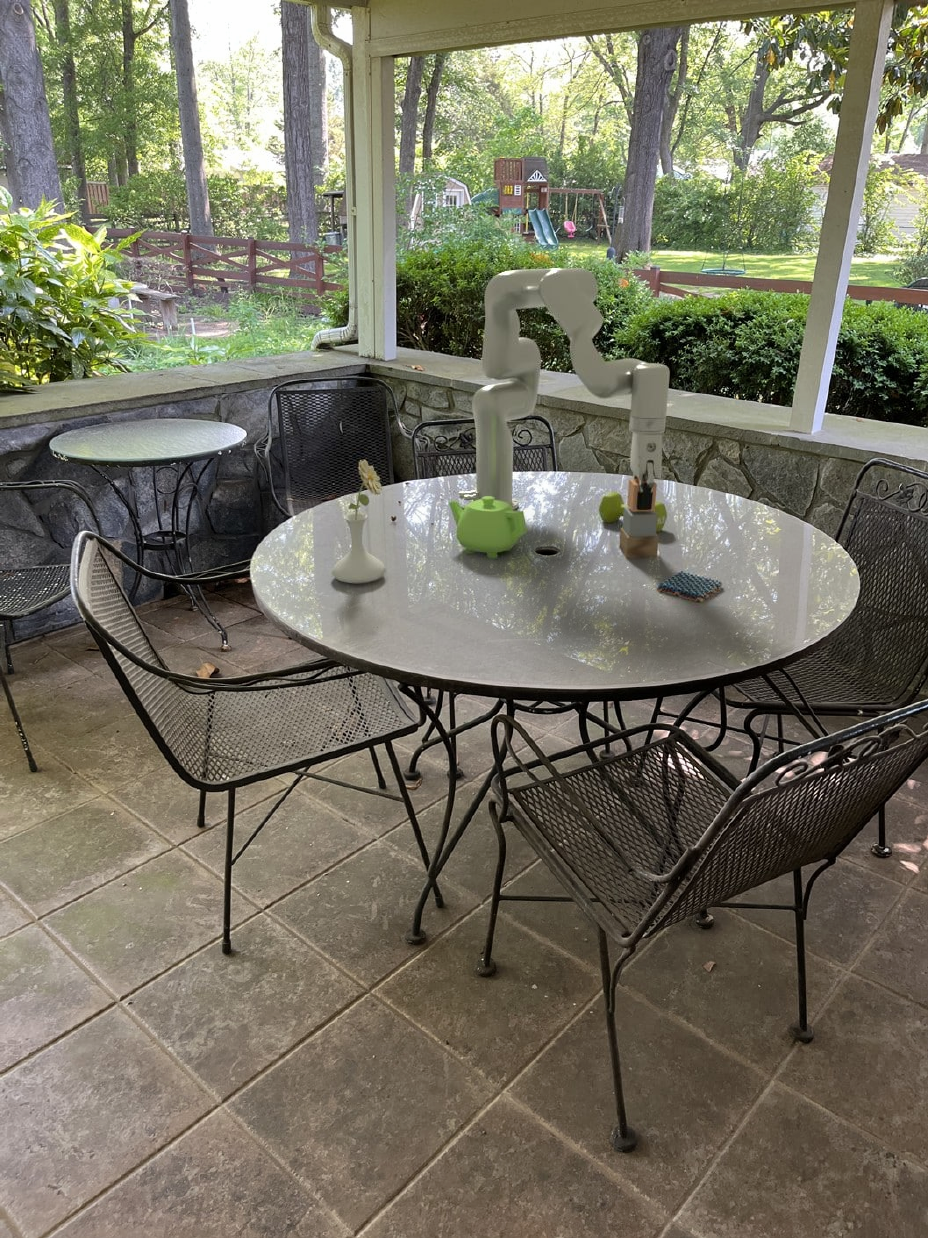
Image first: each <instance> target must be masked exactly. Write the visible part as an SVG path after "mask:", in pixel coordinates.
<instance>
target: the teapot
mask: <svg viewBox="0 0 928 1238" xmlns="http://www.w3.org/2000/svg"><path fill="white" fill-rule="evenodd" d="M494 499H495V498H494V497H492V496H485V497H482V499H479V500H476V501H473V502H471V501H470V502H469V503H467V504H466V506H465V507H464V508H463V507H462V506H461V505H460V504H459V502H458V500H457V501H456V500H451V501H449V502H448V505H449V507H450V510H451V513H452V516H453V518H454V521H455V524H456V526H457V527H456V531H455V532H456V539H457V541H458V543H459V544H460V545H461V546H462V547H463V548H465V550H464V551H463V552H464V553H465V554H473V553H476V552H480V553H486V558H488V559H498V553H503V552H506V551H511V550H512V548H513V547H514V546H515V545H516V544H517V542H518V541H519V539H520V537H522V536H524V535H525V534H527V533H528V528H527V524H526V519H525V514H524V511H523V510H513V509H512V507H511V505H510V504H508V503H506V502H503V501H499V500H494Z"/></svg>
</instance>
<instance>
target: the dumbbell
mask: <svg viewBox="0 0 928 1238" xmlns="http://www.w3.org/2000/svg"><path fill="white" fill-rule="evenodd" d="M624 507H629V506H628V505H627V504H625V502H624V499H623V497H622V495H621V493H619V492H617V491H611V492H609V493H606V494H604V495H603V496H602V499H601V501H600V503H599V508H598V513H599V516H600V519H601V520H602V522H604V523H615V522H616V521H618V520H619V519H620V518H621V517H623V513H624ZM654 512H655V513H656V514H657V525H656V534H658V533H660V532H661V531H662V530H663V529H664V527H665V524H666V521H667V518H668V513H667V508H666V505H665V504H664V503H663V502H659V501H655V511H654Z"/></svg>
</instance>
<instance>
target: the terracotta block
mask: <svg viewBox="0 0 928 1238" xmlns="http://www.w3.org/2000/svg"><path fill="white" fill-rule="evenodd" d="M644 483H646V481H643V485H644ZM657 486H658V484H657V483H656V482H655V481H654V484H653V496H652V508H651V510H637V495H638V492H639V479H633V478H629V479H628V487H627V488H628V490H627V492H628V493H627V504H626V505H628V506H629V508H630V509H631V511H632V512H634V511H655V502H657V501H656V500H657V499H656V497H657Z"/></svg>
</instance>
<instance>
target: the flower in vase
mask: <svg viewBox="0 0 928 1238" xmlns="http://www.w3.org/2000/svg"><path fill="white" fill-rule="evenodd" d="M358 473H359V475H360V479H361V480H362V484H361V486H360V488H359V491H358V494H357V501H356V503H353V502H351V503H350V504H349V506H348V508H347V509H349V510H355V512H353V513H347V514H345V515H343V520H344V521H345V522H346V524H347V525H348V528H349V530H350V531H349V533H350V537H351V548H350V550H349V552H348V553H346V555H345V556H343V557H342V558H341V559H340V560H339V561H337V563H335V565H334V566H333V569H332V571H331V573H332V576H333V577H334V578H335V579H336V580H338V581H340V582H343V583H346V584H347V583H348V584H366V583H371V582H374V581H376V580H379V579H380V578H382V577H383V576H384V575H385V573H386V571H387V570H386V569H387V568H386V566H385V564H384V563H383V562H381V560H380V559H378V558H377V557H375V556H373V555H372V554H370V553H369V551H367V550H365V547H364V543H363V529H364V524H365V522H366V520H367V519H368V514H366V513H363V512H358V509H359V508H361V505H362V506H364V507H366V506H368V505H369V503H370V498H369V497H368V495H367V494H364V493H362V490H363V487H364V486H365V488H366V489H367V490H368V491H369V492H370V494H371V495H372V494H373V495H375V496H376V495H381V492H380V491H381V490H382V491H383V487H382V484H381V483H380V480H381V477H380V476H379V475H377V472H376V471H375V469H374V465H369V463H368V461H367V460H366V459H363V460H361V459H360V460H359V462H358ZM359 502H360V504H361V505H359Z"/></svg>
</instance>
